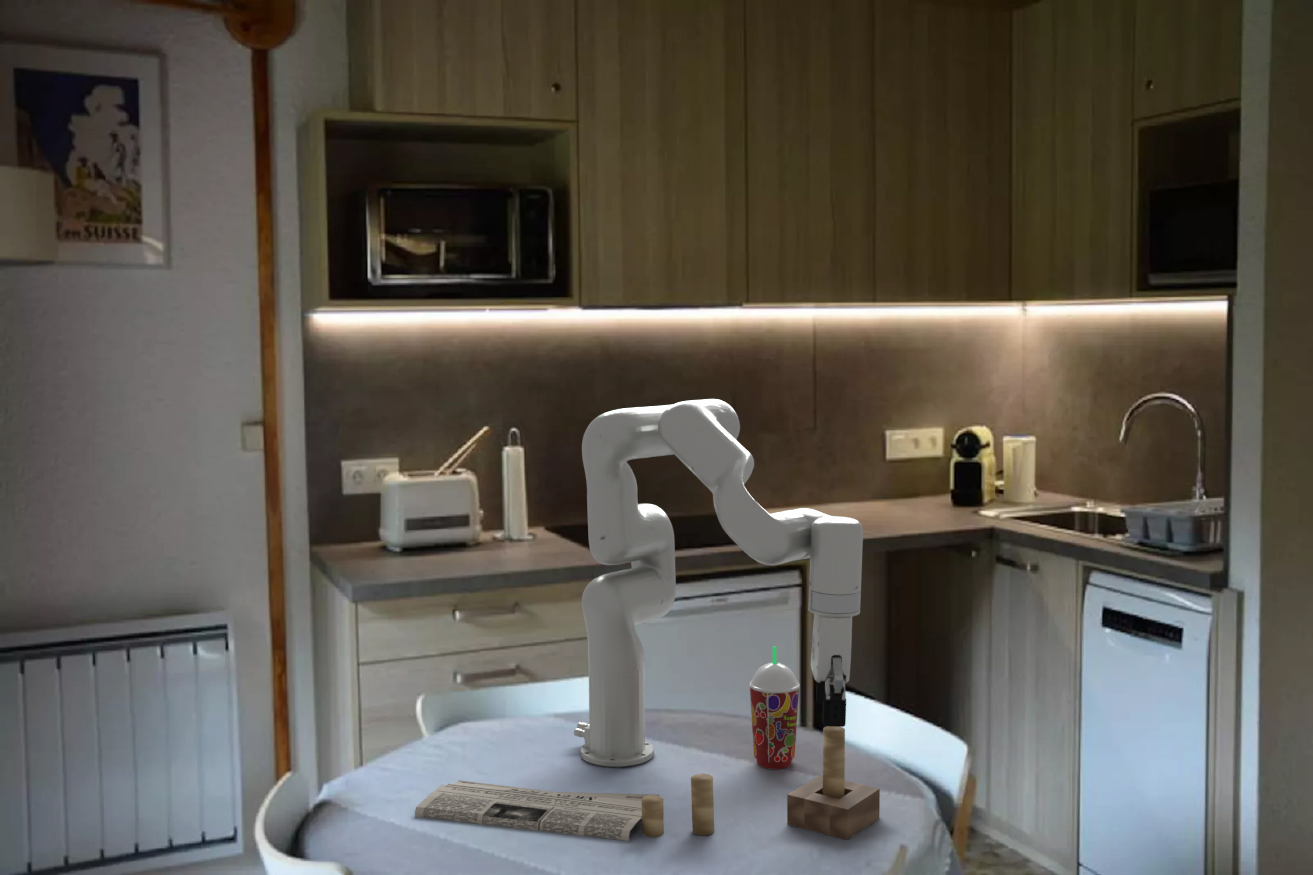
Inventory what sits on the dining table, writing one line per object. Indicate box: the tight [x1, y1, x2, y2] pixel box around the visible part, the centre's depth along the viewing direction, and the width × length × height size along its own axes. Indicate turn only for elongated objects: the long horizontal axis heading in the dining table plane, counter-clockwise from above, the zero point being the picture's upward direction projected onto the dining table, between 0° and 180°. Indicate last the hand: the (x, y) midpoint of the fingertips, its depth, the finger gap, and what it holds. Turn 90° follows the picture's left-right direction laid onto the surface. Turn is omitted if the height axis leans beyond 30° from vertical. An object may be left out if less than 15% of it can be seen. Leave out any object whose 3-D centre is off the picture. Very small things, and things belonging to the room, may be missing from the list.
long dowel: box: [822, 726, 846, 799], centre depth 193 cm, size 3×3×14 cm
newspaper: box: [414, 780, 660, 842], centre depth 197 cm, size 35×12×4 cm, turn 74°
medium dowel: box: [690, 773, 715, 836], centre depth 189 cm, size 3×3×8 cm
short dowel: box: [641, 794, 665, 838], centre depth 189 cm, size 3×3×5 cm
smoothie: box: [749, 645, 801, 770], centre depth 217 cm, size 8×8×20 cm
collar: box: [786, 774, 881, 841], centre depth 193 cm, size 10×10×4 cm
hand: (830, 714), depth 192 cm, fingers open, 9 cm apart
